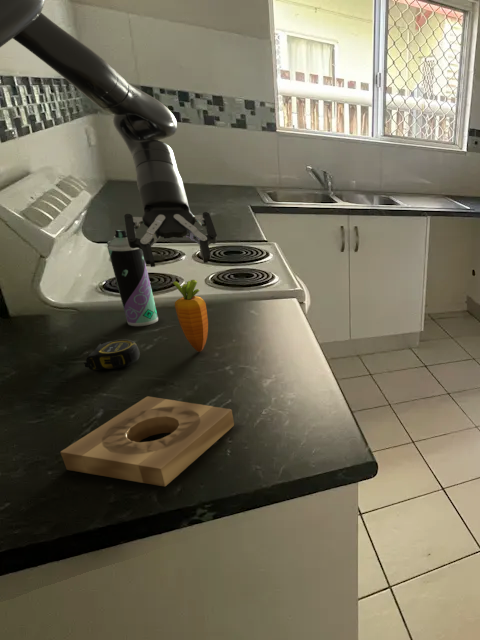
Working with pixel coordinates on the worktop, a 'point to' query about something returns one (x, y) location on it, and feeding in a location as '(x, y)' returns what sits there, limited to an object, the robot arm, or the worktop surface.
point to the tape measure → (113, 355)
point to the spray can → (132, 281)
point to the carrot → (192, 315)
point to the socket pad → (149, 457)
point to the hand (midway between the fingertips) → (180, 262)
